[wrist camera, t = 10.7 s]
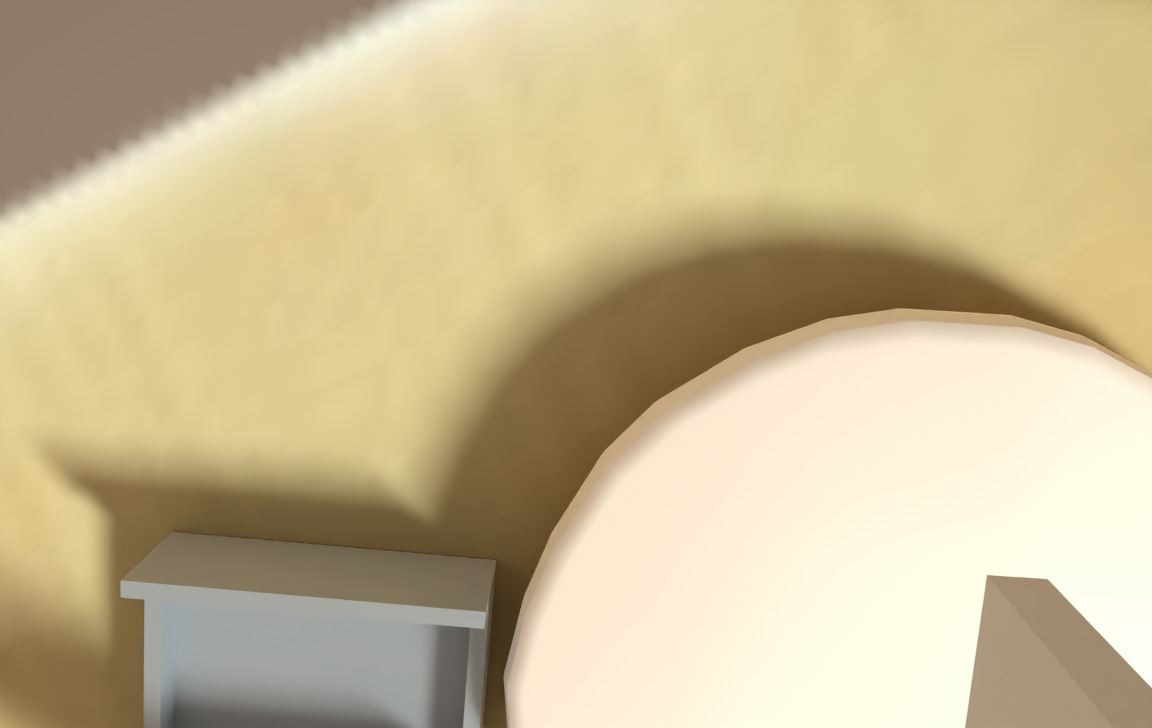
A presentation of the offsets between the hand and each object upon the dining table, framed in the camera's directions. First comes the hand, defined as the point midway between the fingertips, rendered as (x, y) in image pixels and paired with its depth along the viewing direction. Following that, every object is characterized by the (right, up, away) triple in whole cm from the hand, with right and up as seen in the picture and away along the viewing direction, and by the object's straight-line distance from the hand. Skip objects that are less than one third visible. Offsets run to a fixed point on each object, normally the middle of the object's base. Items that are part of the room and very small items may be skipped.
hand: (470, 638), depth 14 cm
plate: (+13, -7, +27) cm, 31 cm away
